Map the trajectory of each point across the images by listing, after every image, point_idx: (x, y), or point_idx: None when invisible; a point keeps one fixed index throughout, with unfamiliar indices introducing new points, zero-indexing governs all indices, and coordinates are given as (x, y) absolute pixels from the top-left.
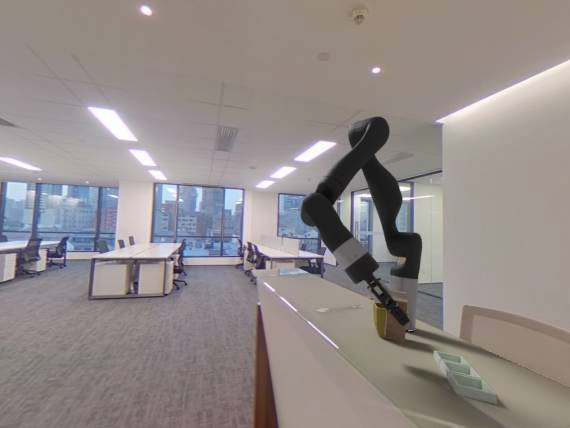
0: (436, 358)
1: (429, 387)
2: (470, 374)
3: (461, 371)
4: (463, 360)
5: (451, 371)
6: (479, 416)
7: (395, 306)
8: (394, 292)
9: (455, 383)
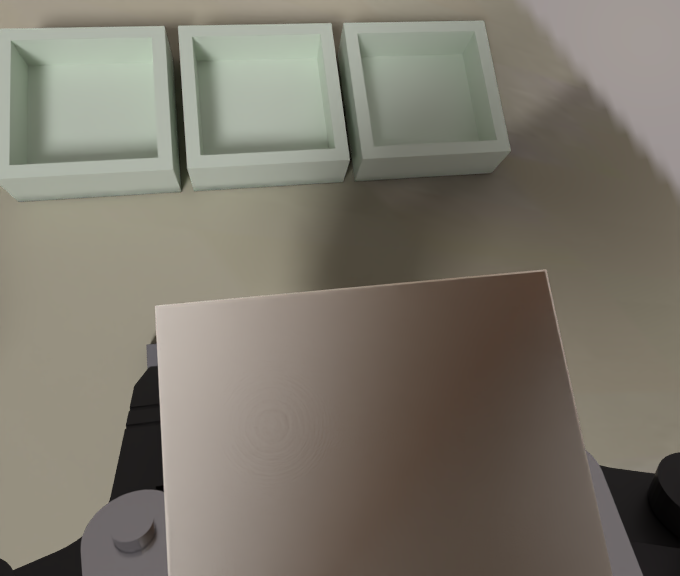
0: (93, 184)
1: (479, 267)
2: (213, 56)
3: (198, 89)
4: (81, 39)
5: (345, 142)
6: (589, 129)
7: (622, 475)
8: (525, 560)
9: (485, 153)
